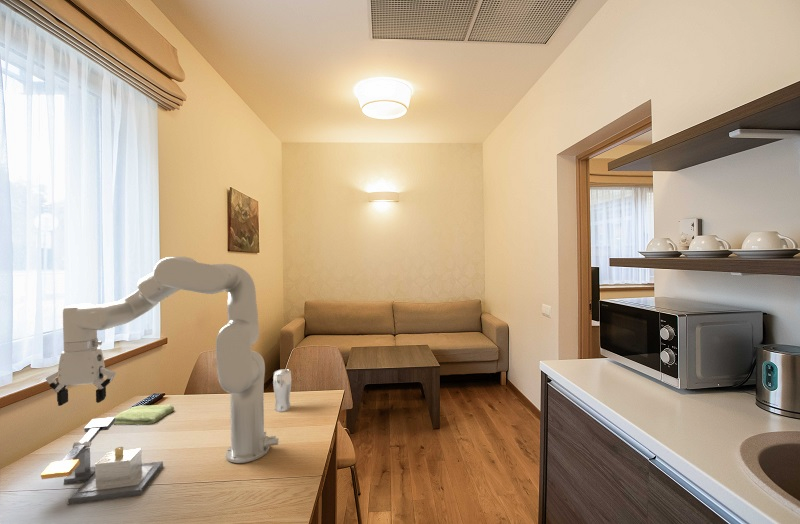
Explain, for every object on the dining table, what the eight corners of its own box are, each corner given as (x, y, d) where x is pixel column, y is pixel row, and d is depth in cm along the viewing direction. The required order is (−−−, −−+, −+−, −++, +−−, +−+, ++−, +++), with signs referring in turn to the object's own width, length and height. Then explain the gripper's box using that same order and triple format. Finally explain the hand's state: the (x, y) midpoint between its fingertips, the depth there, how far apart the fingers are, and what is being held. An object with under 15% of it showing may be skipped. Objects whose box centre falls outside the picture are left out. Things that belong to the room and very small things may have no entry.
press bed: (165, 462, 107) (165, 438, 106) (140, 495, 92) (139, 467, 92) (76, 472, 102) (75, 447, 102) (34, 509, 87) (33, 479, 87)
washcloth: (134, 410, 144) (133, 402, 144) (176, 411, 143) (176, 403, 143) (105, 426, 131) (105, 417, 131) (152, 426, 130) (151, 418, 130)
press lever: (115, 421, 111) (114, 416, 110) (69, 476, 91) (68, 471, 90) (93, 423, 109) (92, 418, 109) (41, 479, 90) (40, 474, 89)
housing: (141, 469, 100) (141, 441, 100) (130, 482, 95) (129, 452, 94) (109, 473, 99) (108, 444, 99) (95, 486, 93) (94, 456, 93)
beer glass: (288, 412, 140) (288, 374, 140) (271, 412, 140) (270, 374, 140) (294, 405, 147) (293, 369, 147) (277, 405, 147) (276, 369, 147)
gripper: (120, 341, 112) (121, 395, 112) (56, 344, 108) (57, 400, 109) (106, 347, 105) (107, 404, 105) (36, 350, 101) (38, 410, 101)
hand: (82, 402), depth 107 cm, fingers open, 9 cm apart
